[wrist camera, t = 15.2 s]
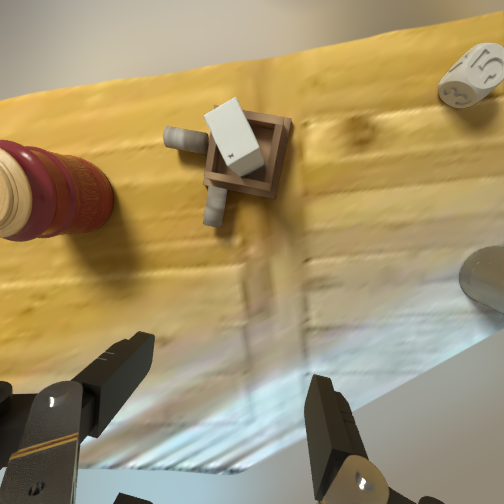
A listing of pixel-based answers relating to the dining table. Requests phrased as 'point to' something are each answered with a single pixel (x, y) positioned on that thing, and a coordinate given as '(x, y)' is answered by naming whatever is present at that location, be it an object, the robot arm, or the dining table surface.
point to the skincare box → (235, 138)
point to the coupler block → (221, 176)
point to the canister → (49, 194)
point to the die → (473, 76)
